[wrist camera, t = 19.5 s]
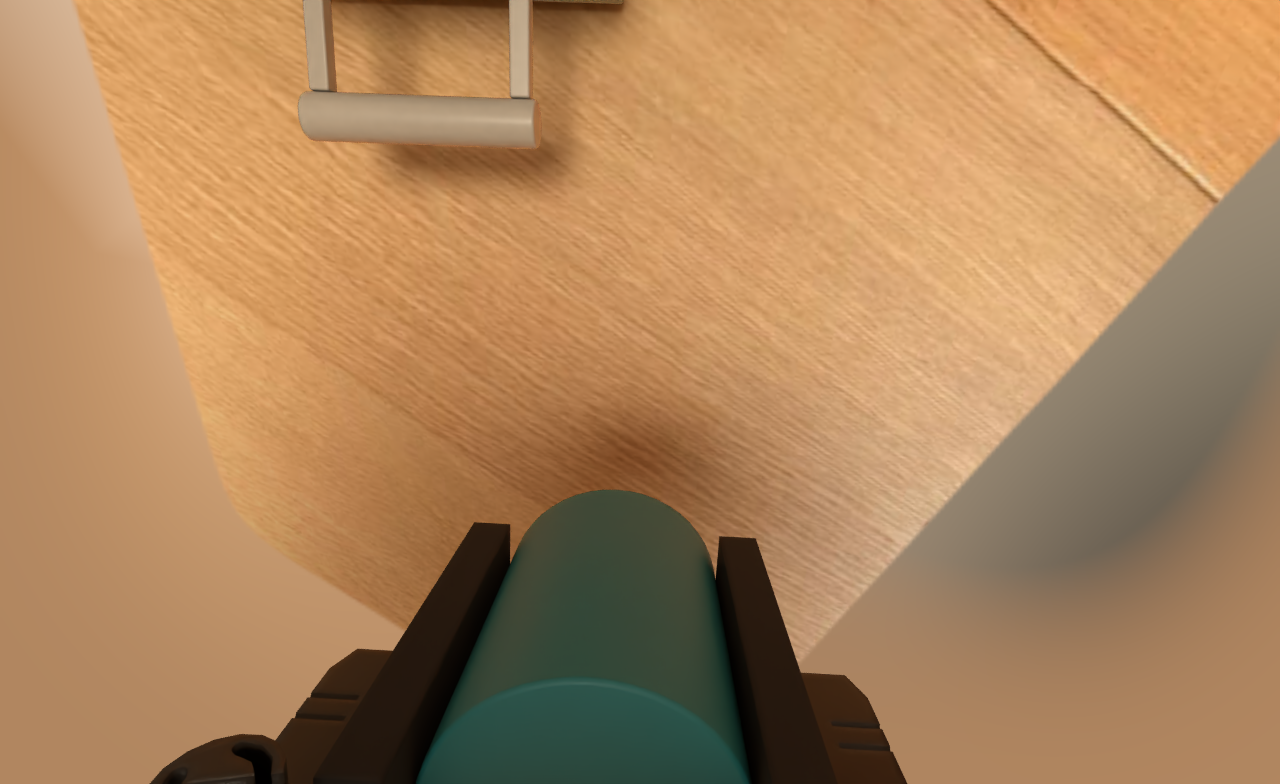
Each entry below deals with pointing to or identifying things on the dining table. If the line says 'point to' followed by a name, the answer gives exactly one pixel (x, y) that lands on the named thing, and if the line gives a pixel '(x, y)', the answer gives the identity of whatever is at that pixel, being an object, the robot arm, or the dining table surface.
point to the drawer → (421, 97)
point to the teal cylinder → (598, 659)
